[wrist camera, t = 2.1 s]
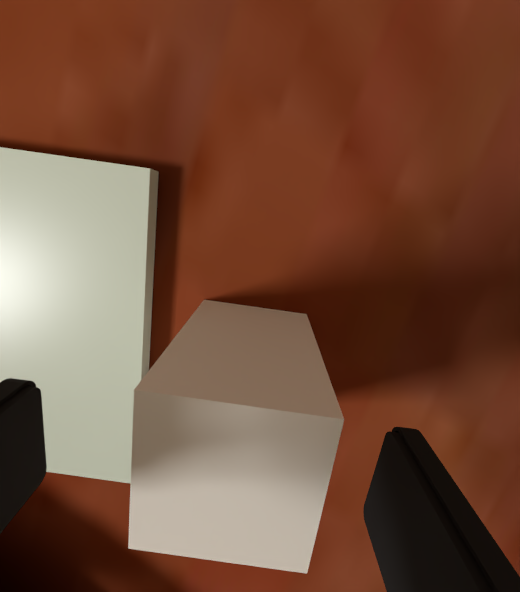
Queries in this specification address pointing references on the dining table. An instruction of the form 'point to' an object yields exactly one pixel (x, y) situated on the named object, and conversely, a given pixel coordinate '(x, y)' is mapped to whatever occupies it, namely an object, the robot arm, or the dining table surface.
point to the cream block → (234, 440)
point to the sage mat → (78, 300)
